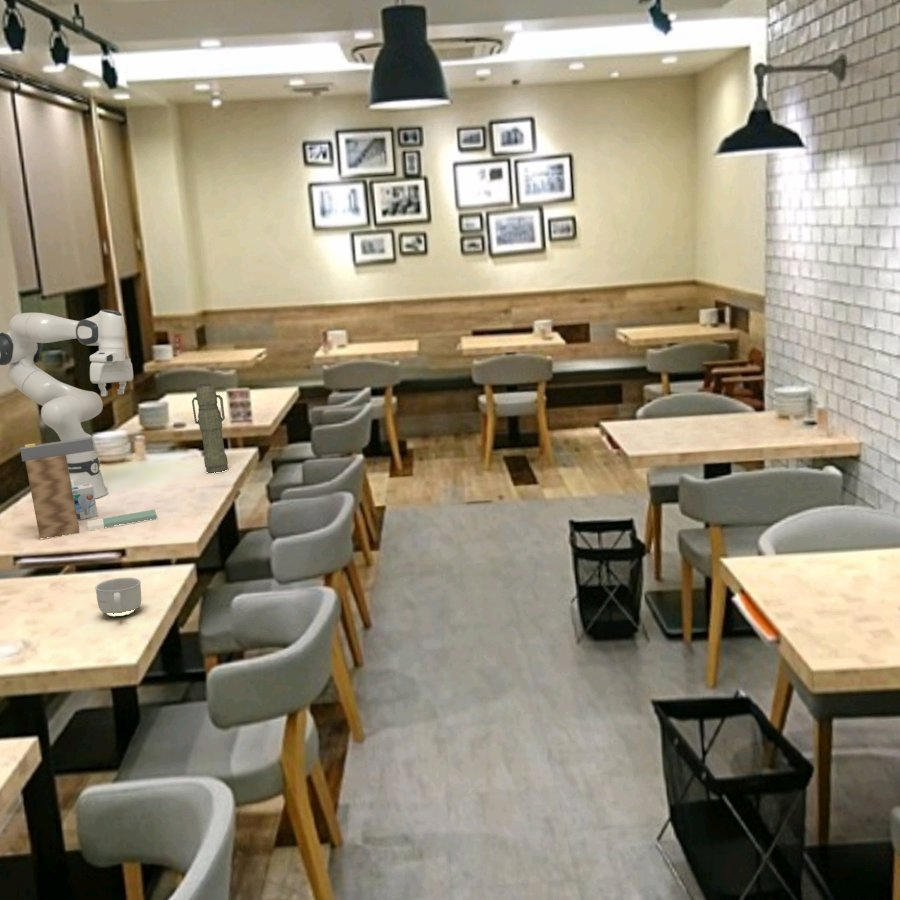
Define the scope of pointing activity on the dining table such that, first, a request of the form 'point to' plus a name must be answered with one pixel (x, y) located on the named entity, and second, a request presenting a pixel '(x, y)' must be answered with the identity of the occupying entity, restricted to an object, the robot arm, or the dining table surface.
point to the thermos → (211, 427)
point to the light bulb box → (84, 501)
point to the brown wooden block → (52, 496)
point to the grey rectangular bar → (56, 448)
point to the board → (121, 519)
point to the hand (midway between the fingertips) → (112, 395)
